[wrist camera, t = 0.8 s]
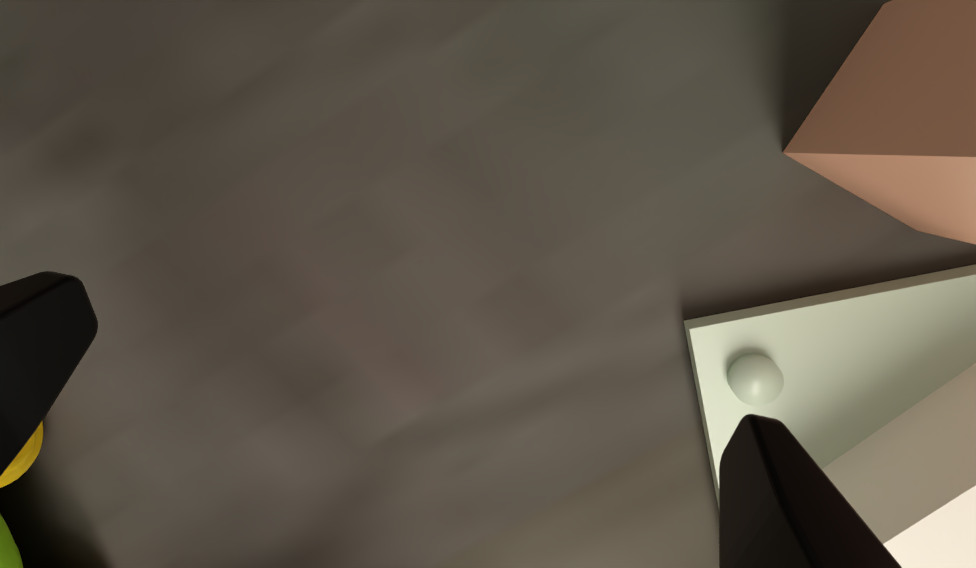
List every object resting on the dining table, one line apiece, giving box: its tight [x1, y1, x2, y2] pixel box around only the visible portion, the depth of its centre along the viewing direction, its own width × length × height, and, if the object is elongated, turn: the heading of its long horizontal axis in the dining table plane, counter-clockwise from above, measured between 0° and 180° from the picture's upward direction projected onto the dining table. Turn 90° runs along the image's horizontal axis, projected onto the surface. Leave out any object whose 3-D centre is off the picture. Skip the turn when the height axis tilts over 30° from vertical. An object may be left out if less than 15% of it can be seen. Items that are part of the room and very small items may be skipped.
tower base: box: [684, 264, 976, 568], centre depth 19 cm, size 16×13×5 cm
